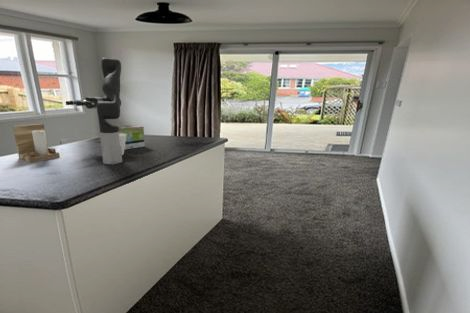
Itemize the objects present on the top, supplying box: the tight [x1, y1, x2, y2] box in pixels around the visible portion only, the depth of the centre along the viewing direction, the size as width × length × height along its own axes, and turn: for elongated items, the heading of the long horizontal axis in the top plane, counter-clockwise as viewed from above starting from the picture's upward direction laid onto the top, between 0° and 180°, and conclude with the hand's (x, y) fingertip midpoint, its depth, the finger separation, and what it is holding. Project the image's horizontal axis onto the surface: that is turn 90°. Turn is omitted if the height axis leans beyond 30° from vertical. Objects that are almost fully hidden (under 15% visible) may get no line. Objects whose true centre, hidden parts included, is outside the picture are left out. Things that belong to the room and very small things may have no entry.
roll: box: [32, 130, 49, 155], centre depth 138 cm, size 6×6×13 cm
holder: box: [12, 123, 60, 163], centre depth 139 cm, size 14×14×18 cm
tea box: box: [117, 124, 145, 151], centre depth 172 cm, size 15×10×15 cm
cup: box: [119, 133, 126, 156], centre depth 152 cm, size 12×12×12 cm
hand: (71, 103), depth 150 cm, fingers open, 8 cm apart
